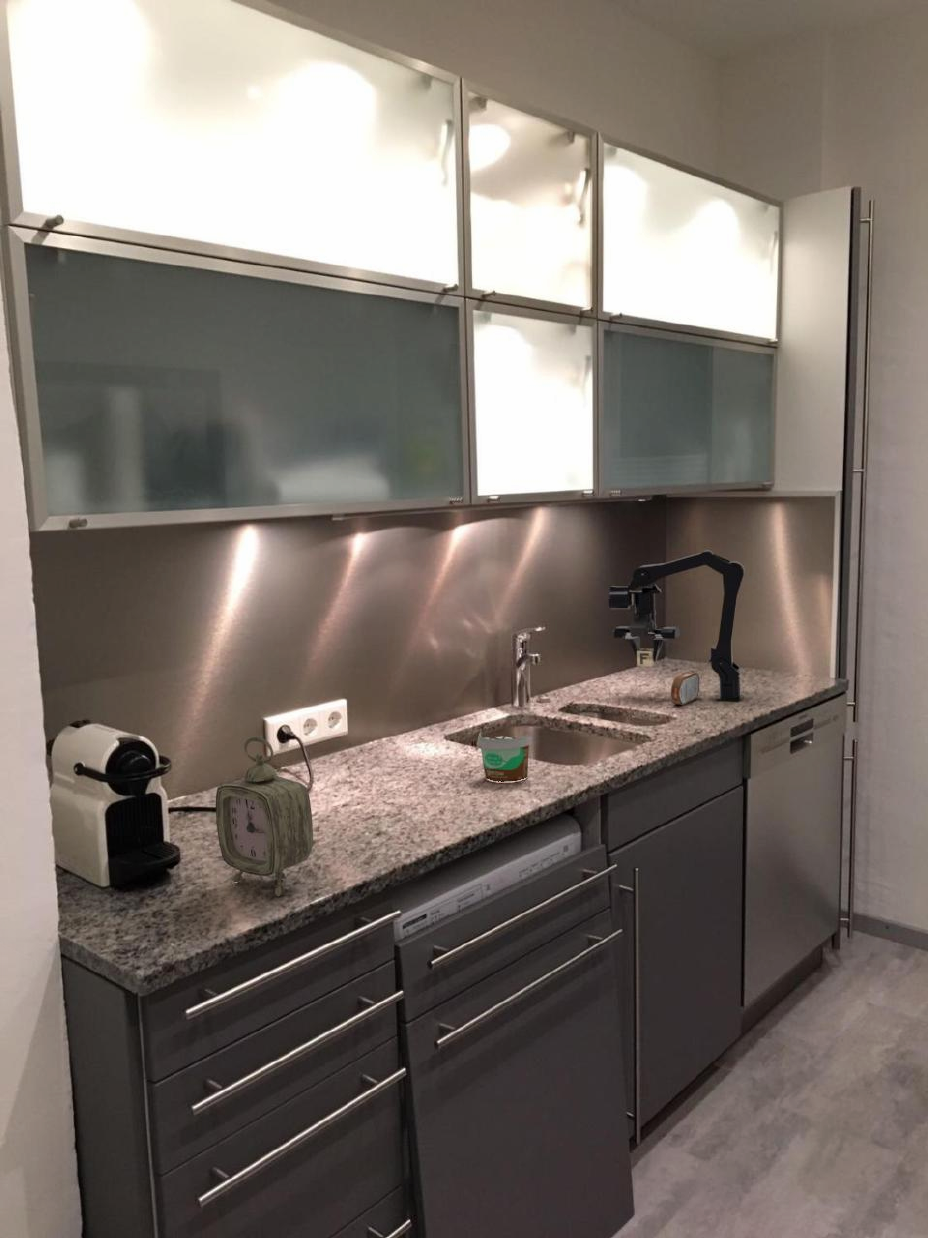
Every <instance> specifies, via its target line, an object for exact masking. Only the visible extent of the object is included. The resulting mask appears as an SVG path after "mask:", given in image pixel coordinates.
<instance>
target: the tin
mask: <svg viewBox="0 0 928 1238" xmlns="http://www.w3.org/2000/svg"><path fill="white" fill-rule="evenodd" d="M699 693H700V676H699V674H698V673H697V672H696V673H695V672H691V671H686V672H683V673H681V674H678V675H676V676H675V677H674V679H673V680H672V684H671V688H670V699H671V702H672V704H673V705H677V706H685V705H687V704H689V703H692V702H694V701H695V700H696V699H697V698H698V695H699ZM694 699H695V700H694ZM693 700H694V701H693ZM691 701H692V702H691ZM688 702H689V703H688ZM684 704H685V705H684Z"/></svg>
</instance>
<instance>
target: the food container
mask: <svg viewBox="0 0 928 1238" xmlns="http://www.w3.org/2000/svg"><path fill="white" fill-rule="evenodd" d="M532 744H533V741H532V737H531V736H530V734H529V733H528V734H526V735H523V736H521V737H515V736H509V735H496V736H482V732H480V733H479V734H478V737H477V743H476V745H477V746H478V747H480V750H481V751H480V752H481V757H482V765H483V769H484V771H483V772H484V777H485V779H486V778H487V779H490V780H493V781H498V782H499V781H501V782H504V781H517V780H521V779H524V778H526V777H527V778H528V774H529V771H528V769H529V753H530V751H529V750H530V748H529V747H530V745H532Z"/></svg>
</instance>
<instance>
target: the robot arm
mask: <svg viewBox="0 0 928 1238" xmlns="http://www.w3.org/2000/svg"><path fill="white" fill-rule="evenodd" d="M702 566H707V567H709V568H710V569H712V570H714V571H715V572H716V573H719V574H721V575H722V581H723V583H722V584H723V592H724V595H723V601H722V602H723V603H722V608H721V609H722V610H721V618H720V626H719V633H718V641H717V644H716V645H714V644H713V645H711V647H710V657H709V658H710V659H709V660H708V662H709V663H711V664H710V665H711V669H712V670H713V672H715V674H718V677H719V695H718V697H717V698H716V701H731V702H739V701H741V700H742V699H743V698H744V694H741V677H740V673H741V666H739V665H738V664H736V663H735V662H734V657H733V654H734V653H733V643H732V642H733V641H732V640H733V639H732V638H733V631H734V624H735V616H736V609H737V602H738V594H739V591H740V588H741V586H742V581H743V578H744V576H745V573H746V572H745V571H746V569H745V566H744V565H743V564H742V562H739V561H738V560H737V561H736V560H728V559H727V558H724V557H723V556H720V555H718V554H716V553H714V552H713V551H711V550H710V549H706V550H703V551H701V552H698V553H694V554H692V555H687V556H685V557H682V558H678V559H674V560H671V561H667V562H663V563H651V564H644V565H643V564H642V565H640V566H639V567H637V568H636V569H635V570H634V572H633V573H632V574H633V575H632V578H633V579H632V581H630V583H629V584H628V586H617V585H611V586H610V587H609V597H608V608H609V609H610V610H630V609H631V606H634V607H635V612H634V616H633V620H632V622H631V623H630V624H629V625H628V626H627V625H622V626H621V625H620V626H617V627H614V629H613V630H612V638H613V639H623V638H624V637H625V638H624V641H626V642H628V643H629V644H630V646H631V647H632V650H633V652H634V655H635V658H636V659H637V651H638V650H640V649H641V638H646V637H647V636H649V637H650V636H652V637H653V636H654V637H655V638H654V639H653V640H652V641H653V649H654V662H656V661H657V662H658V657H659V655H660V651H661V649H662V646H663V645H664V643H665V641H667V640H674V639H678V638H679V637H681V629H680V628H679V627H678V626H665V627H662V628H661V629H660V628H659V629H658V626H657V623H656V621H657V620H656V615H657V611H656V594H661V593H662V589H661V588H659V586H658V585H657V584H654V583H656V582H658V581H659V580H661V579H663V578H665V577H668V576H671V575H675V574H677V573H678V574H679V573H681V572H685V571H689V570H691V569H692V570H693V569H695V568H698V567H699V568H700V567H702ZM651 584H653V586H651V587H647V586H649V585H651ZM640 587H642V589H641V590H637V589H638V588H640Z"/></svg>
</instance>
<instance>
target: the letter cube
mask: <svg viewBox="0 0 928 1238" xmlns="http://www.w3.org/2000/svg"><path fill="white" fill-rule="evenodd" d="M636 659H637V660H636V661H637V662H636V663H637V664H636V666H637V667H654V666H656V665H658V660H657V661H656V662H654V648H640V650H638V651H637V658H636Z"/></svg>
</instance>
